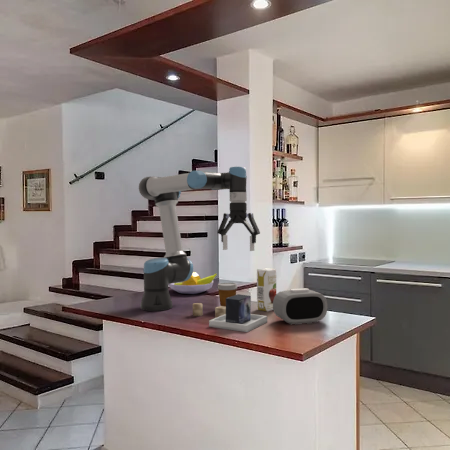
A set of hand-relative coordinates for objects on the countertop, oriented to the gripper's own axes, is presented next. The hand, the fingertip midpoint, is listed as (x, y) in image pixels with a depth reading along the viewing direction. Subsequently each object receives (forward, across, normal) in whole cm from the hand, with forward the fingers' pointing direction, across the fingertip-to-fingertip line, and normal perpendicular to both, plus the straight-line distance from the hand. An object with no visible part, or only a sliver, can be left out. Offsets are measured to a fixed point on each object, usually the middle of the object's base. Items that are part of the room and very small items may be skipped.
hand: (238, 250), depth 195 cm
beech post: (+29, -16, -9) cm, 34 cm away
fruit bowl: (+29, -51, +37) cm, 70 cm away
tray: (+29, +8, -14) cm, 33 cm away
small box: (+28, +8, -15) cm, 33 cm away
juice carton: (+29, +6, +16) cm, 34 cm away
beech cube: (+29, -4, -8) cm, 30 cm away
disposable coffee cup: (+29, -10, +7) cm, 31 cm away
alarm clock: (+29, +28, +2) cm, 40 cm away
